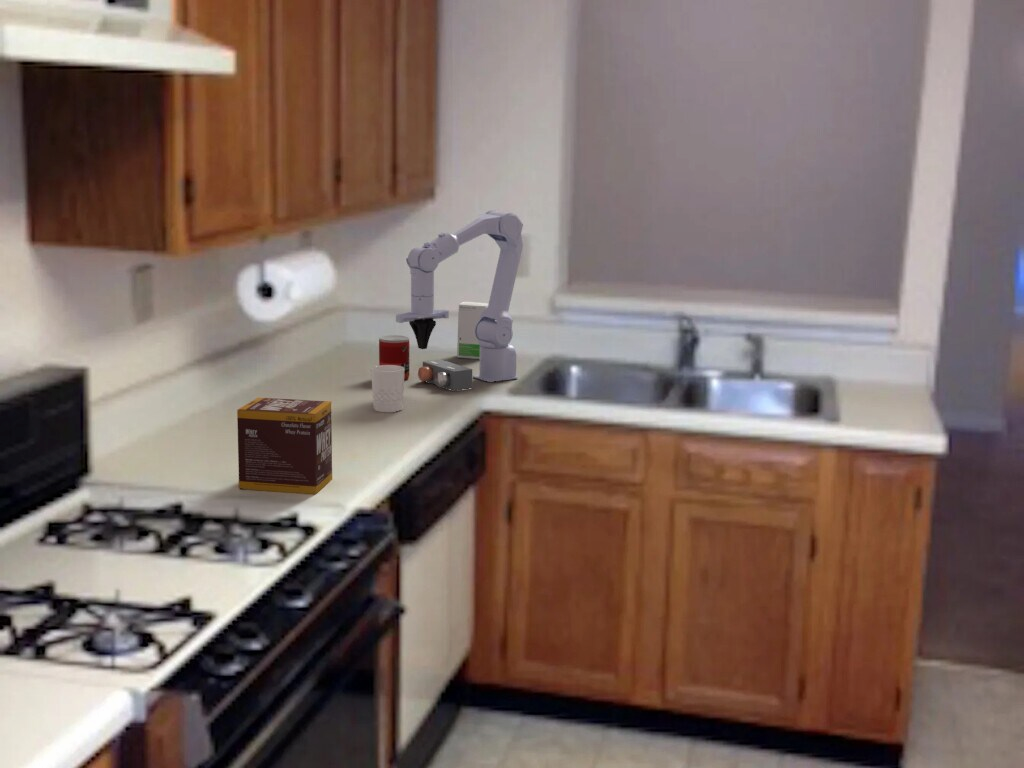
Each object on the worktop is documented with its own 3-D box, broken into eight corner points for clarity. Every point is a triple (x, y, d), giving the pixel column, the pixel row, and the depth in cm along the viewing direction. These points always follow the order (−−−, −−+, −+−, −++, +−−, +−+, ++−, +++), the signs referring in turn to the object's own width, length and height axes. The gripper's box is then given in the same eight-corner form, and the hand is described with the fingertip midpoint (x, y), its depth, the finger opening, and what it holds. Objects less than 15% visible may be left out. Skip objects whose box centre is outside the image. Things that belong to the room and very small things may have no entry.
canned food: (408, 382, 332) (407, 340, 330) (377, 381, 332) (377, 340, 330) (410, 375, 340) (410, 335, 337) (381, 375, 340) (380, 334, 338)
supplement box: (317, 495, 236) (315, 413, 232) (238, 489, 238) (235, 408, 235) (334, 479, 246) (332, 400, 242) (258, 474, 248) (256, 396, 245)
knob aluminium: (459, 382, 329) (459, 368, 328) (466, 384, 326) (467, 370, 325) (434, 385, 324) (434, 371, 324) (442, 388, 322) (442, 374, 321)
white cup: (411, 409, 302) (411, 368, 300) (386, 415, 297) (386, 373, 295) (389, 404, 308) (389, 363, 306) (364, 409, 302) (364, 368, 300)
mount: (440, 378, 337) (440, 358, 336) (472, 389, 325) (472, 368, 324) (422, 380, 334) (422, 360, 332) (454, 391, 322) (454, 370, 321)
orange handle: (442, 376, 335) (442, 363, 334) (449, 379, 332) (449, 365, 331) (418, 379, 331) (418, 366, 330) (425, 382, 328) (425, 368, 327)
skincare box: (456, 358, 364) (456, 304, 361) (461, 353, 371) (461, 301, 367) (485, 359, 363) (485, 305, 360) (489, 355, 369) (490, 302, 366)
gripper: (438, 291, 327) (438, 343, 330) (389, 295, 319) (389, 348, 322) (453, 294, 322) (453, 347, 325) (404, 299, 313) (404, 353, 316)
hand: (422, 348), depth 323 cm, fingers closed
